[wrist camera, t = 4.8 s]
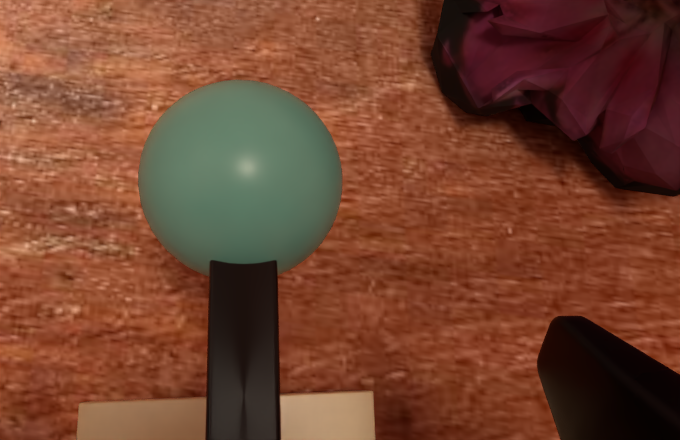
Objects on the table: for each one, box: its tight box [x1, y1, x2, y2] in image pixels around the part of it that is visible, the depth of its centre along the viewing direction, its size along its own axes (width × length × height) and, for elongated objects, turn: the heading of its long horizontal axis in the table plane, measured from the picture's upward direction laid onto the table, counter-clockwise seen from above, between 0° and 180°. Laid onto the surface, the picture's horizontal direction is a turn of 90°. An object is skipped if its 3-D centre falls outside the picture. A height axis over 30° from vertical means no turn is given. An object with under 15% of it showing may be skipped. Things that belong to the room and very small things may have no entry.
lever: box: [138, 80, 342, 440], centre depth 9 cm, size 12×4×4 cm, turn 2°
